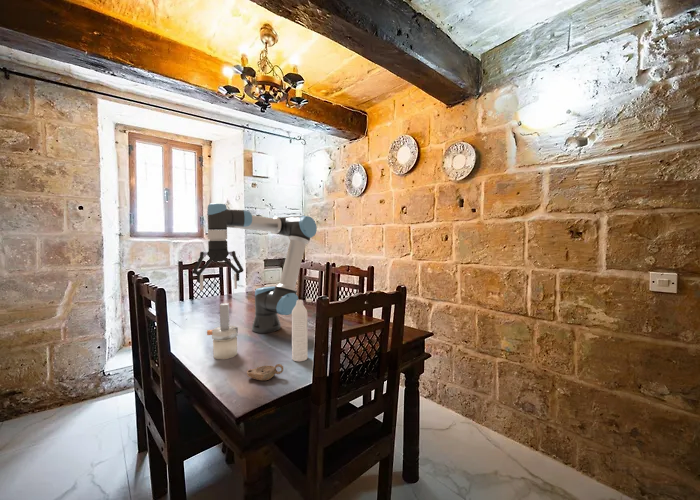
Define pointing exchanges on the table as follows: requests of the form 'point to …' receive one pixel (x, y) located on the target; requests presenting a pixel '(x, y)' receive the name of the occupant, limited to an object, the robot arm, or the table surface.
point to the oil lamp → (264, 372)
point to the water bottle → (299, 332)
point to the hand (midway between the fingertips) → (219, 289)
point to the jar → (225, 348)
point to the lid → (224, 326)
